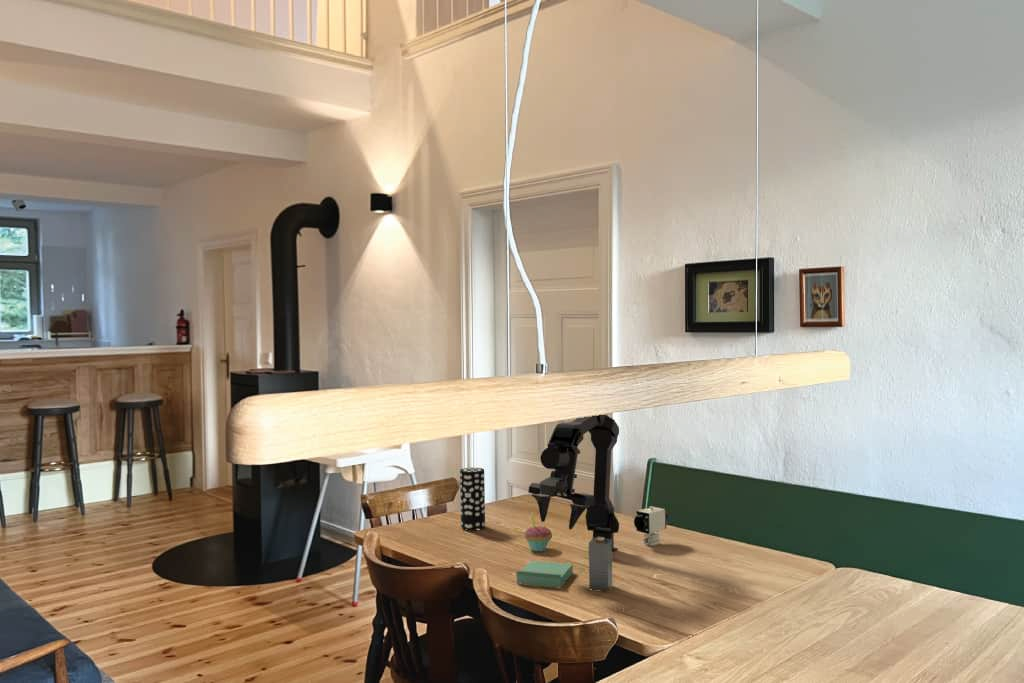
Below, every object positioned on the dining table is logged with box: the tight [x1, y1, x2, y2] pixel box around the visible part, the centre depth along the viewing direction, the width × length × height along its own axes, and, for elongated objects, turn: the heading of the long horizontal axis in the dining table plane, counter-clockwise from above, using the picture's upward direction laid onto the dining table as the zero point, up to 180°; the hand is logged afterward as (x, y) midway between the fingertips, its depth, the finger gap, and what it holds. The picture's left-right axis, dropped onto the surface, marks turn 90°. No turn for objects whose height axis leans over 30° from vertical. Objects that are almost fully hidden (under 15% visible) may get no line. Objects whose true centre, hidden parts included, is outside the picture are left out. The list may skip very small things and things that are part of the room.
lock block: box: [588, 537, 613, 592], centre depth 202 cm, size 5×5×13 cm
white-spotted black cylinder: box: [459, 467, 486, 530], centre depth 265 cm, size 8×8×20 cm
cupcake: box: [523, 511, 553, 552], centre depth 238 cm, size 9×8×12 cm
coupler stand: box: [516, 560, 574, 589], centre depth 210 cm, size 13×12×4 cm
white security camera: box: [633, 505, 670, 547], centre depth 241 cm, size 6×12×12 cm, turn 130°
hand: (556, 525), depth 212 cm, fingers open, 9 cm apart
